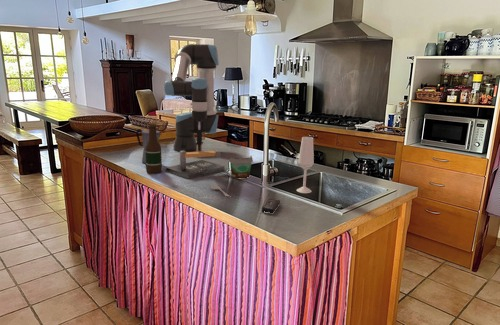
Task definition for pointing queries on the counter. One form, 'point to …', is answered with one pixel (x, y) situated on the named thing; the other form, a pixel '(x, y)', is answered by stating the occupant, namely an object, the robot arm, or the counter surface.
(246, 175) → the food container
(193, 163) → the plate
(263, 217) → the counter surface
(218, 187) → the spoon
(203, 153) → the hammer
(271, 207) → the multiport hub
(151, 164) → the beer bottle
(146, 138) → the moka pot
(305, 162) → the champagne flute
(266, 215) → the counter surface
